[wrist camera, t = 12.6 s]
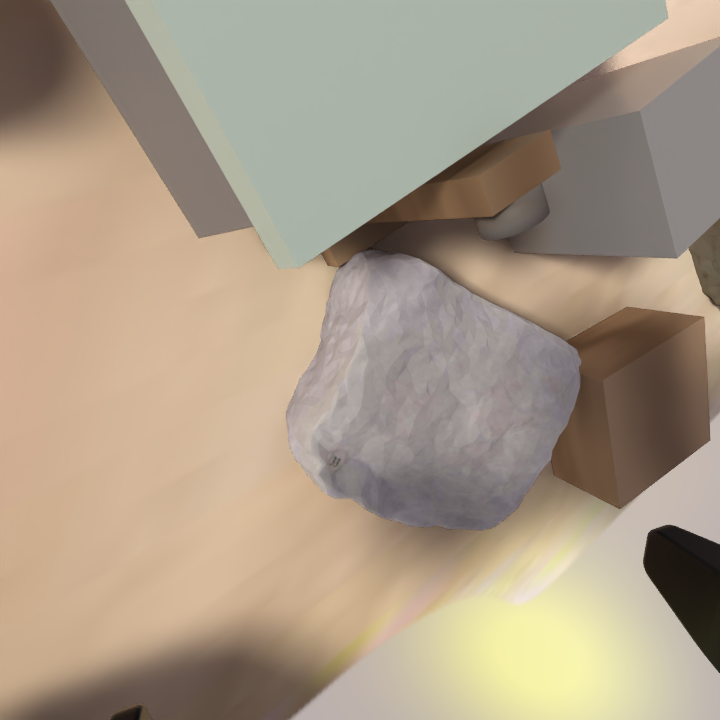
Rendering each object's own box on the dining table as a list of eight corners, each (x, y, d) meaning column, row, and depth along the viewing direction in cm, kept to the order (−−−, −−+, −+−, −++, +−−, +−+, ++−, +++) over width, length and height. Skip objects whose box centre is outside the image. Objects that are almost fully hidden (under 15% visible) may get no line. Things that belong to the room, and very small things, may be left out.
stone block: (449, 494, 27) (549, 330, 25) (500, 559, 23) (624, 368, 21) (242, 438, 22) (348, 222, 20) (261, 509, 18) (398, 245, 16)
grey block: (514, 252, 23) (677, 258, 17) (471, 149, 21) (639, 110, 15) (585, 193, 25) (762, 178, 18) (551, 90, 22) (739, 30, 16)
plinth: (554, 475, 28) (620, 509, 24) (532, 360, 25) (602, 380, 22) (639, 416, 30) (710, 440, 27) (627, 306, 28) (704, 317, 24)
